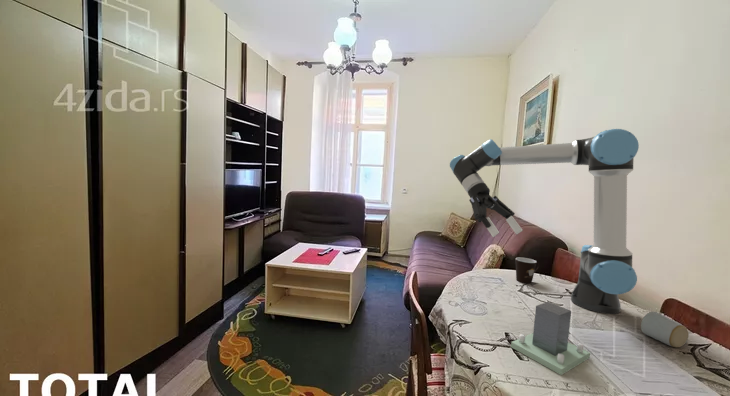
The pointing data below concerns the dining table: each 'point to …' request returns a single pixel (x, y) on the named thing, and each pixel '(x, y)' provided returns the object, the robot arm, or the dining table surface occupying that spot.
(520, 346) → the pin plate
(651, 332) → the grey cylinder
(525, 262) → the coffee mug
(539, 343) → the block
